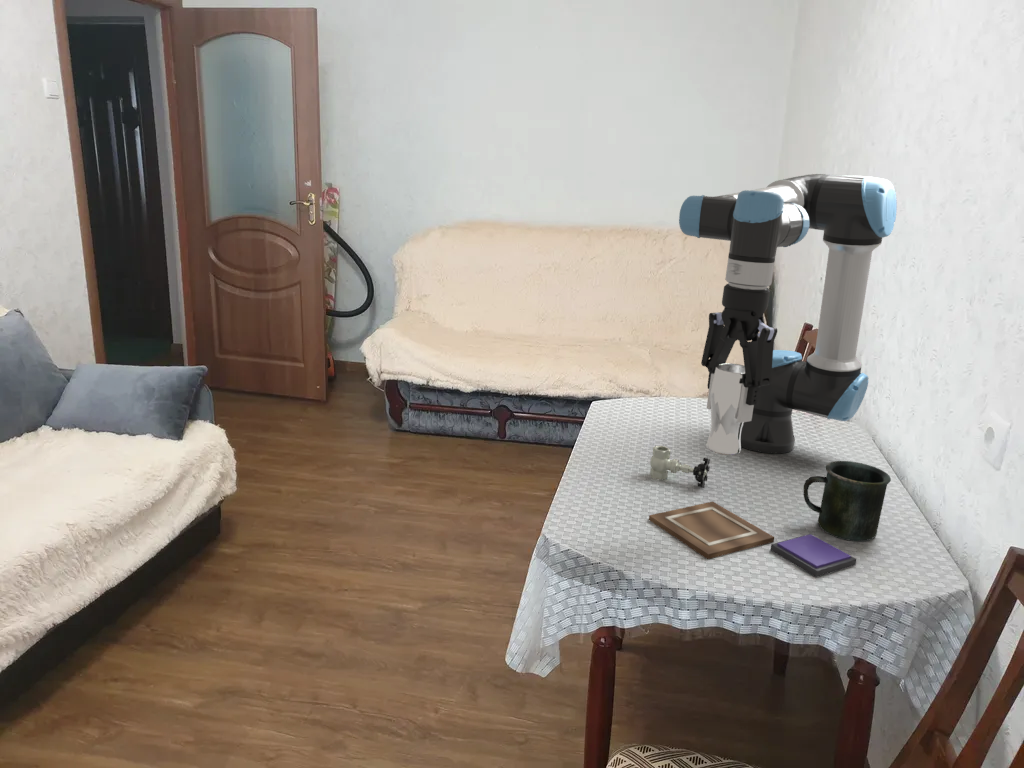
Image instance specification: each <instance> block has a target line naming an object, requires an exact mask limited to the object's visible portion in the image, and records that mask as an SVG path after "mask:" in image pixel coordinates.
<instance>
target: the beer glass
mask: <svg viewBox="0 0 1024 768" xmlns="http://www.w3.org/2000/svg"><path fill="white" fill-rule="evenodd" d="M753 379H754V378H753ZM743 384H746V375H745V367H744V365H743V364H738V363H731V362H729V363H728V362H726V363H722V364H717V365H716V368H715V372H714V377H713V381H712V387H711V401H710V404H711V409H710V423H711V424H710V432H709V436H708V438H707V441H706V444H705V447H706V449H707V450H709V451H711V452H713V453H714V454H720V455H724V456H726V455H727V456H733V455H738V454H740V453H741V452H742V447H741V431H742V427H743V424H744V422H742V423H739V422H737V417H738V410H739V404H740V397H741V390H742V385H743Z"/></svg>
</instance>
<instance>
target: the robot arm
mask: <svg viewBox="0 0 1024 768" xmlns="http://www.w3.org/2000/svg"><path fill="white" fill-rule="evenodd" d="M897 203H898V202H897V194H896V190H895V187H894V185H893V183H892V182H891V181H890V180H888V179H886V178H882V177H881V178H880V177H874V176H871V175H870V176H865V175H864V176H863V175H843V174H838V175H837V174H826V173H814V174H813V173H812V174H805V175H798V176H792V177H788V178H785V179H784V178H783V179H778V180H774V181H773V182H770V183H769V184H768V185H767V186H766V187H762V188H756V189H751V190H747V189H745V190H742V191H740V192H733V193H729V194H722V195H716V196H707V195H704V194H702V195H689V196H688V197H686V198H685V200H684V201H683V202H682V205H681V207H680V209H679V210H680V211H679V216H678V217H679V218H678V225H679V228H680V231H681V232H682V233H683V234H684V235H685V236H690V237H695V238H697V239H700V238H702V239H711V240H712V239H713V240H721V241H729V242H730V243H729V252H728V255H727V256H728V258H727V264H726V265H727V266H726V273H725V278H724V279H725V281H726V282H727V283H726V284H725V285H724V286H723V292H722V298H721V305H722V306H723V308H724V309H723V310H722V312H721V311H720V312H718V311H717V312H710V313H709V314H708V329H707V334H706V338H705V344H704V348H703V353H702V357H701V366H702V367H705V368H706V369H707V370H708V379H707V385H706V386H707V389H708V394H707V402H706V409H708V410H709V411H711V404H710V401H711V387H712V381H713V377H714V372H715V368H716V365H717V364H722V363H727V360H728V358H729V356H730V354H731V352H732V350H733V348H734V345H735V343H736V342H737V341H738V342H739V346H740V347H741V348H742V349H741V350H742V357H743V364H744V367H745V375H746V384H743V385H742V390H741V397H740V404H739V410H738V417H737V422H739V423H742V422H744V424H743V427H742V431H741V448H744V449H746V450H750V451H754V452H757V453H764V454H786V453H789V452H792V451H793V450H794V448H795V443H796V437H795V434H794V428H793V421H792V420H793V419H792V414H793V410H794V411H799V412H803V413H806V414H808V415H809V414H810V415H814V416H816V417H817V416H818V417H821V418H825V419H827V420H835V421H840V422H847V421H850V420H851V419H853V417H854V416H855V415H856V414H857V412H858V411H859V408H860V406H861V404H862V402H863V401H864V398H865V395H866V394H867V393H866V392H867V390H868V386H869V376H868V374H866V373H864V372H861V371H862V366H863V364H862V362H861V361H860V359H859V358H858V357H857V350H858V344H859V337H860V332H861V331H860V330H861V326H862V325H861V323H862V318H863V312H864V306H865V299H866V293H867V286H868V280H869V275H870V267H871V262H872V261H871V260H872V254H873V251H874V250H876V249H877V248H878V247H879V246H881V244H882V241H883V239H884V238H885V237H888V236H889V237H890V235H891V234H892V232H893V230H894V227H895V222H896V218H897V210H898V209H897V208H898V206H897ZM809 229H810V230H811V229H812V230H818V231H823V234H822V235H823V236H822V242H823V243H824V244H825V245H826V246H827V247H828V254H827V263H826V269H825V277H824V284H823V290H822V291H823V293H822V298H821V305H820V313H819V321H818V328H817V334H816V342H815V350H814V352H813V353H811V354H810V355H808V356H807V357H806V361H804V360H803V356H802V353H800V352H797V351H795V350H788V349H787V350H784V349H774V343H775V339H776V337H777V334H778V328H777V327H773V326H772V327H770V326H769V325H767V324H765V318H764V314H765V312H766V311H767V309H768V306H769V301H770V293H771V290H770V288H768V287H770V286H771V285H772V283H773V275H774V269H775V262H776V255H777V250H778V249H777V248H782V247H783V248H787V247H791V246H792V245H795V244H798V243H799V242H801V241H802V240H803V239H804V238H805V237H806V235H807V234H808V232H809ZM753 378H754V379H753Z"/></svg>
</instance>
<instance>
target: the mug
mask: <svg viewBox="0 0 1024 768" xmlns="http://www.w3.org/2000/svg"><path fill="white" fill-rule="evenodd" d="M825 471H826V475H825V476H822V475H814V476H809V477H808V478H807V479H805V482H804V484H803V493H802V494H803V499H804V502H805V503H806V506H807V507H808V508H809V509H811V510H812V511H814V512H816V513H817V514H818V520H817V523H818V525H819V527H820V528H821V530H823V531H824V532H826V533H827V534H829V535H831V536H834V537H836V538H840V539H842V540H847V541H852V542H866V541H870V540H872V539H874V538H875V537H876V536H877V533H878V529H879V525H880V519H881V516H882V510H883V507H884V506H883V505H884V500H885V498H886V497H885V496H886V492H887V487H888V485H889V484H890V482H891V480H892V478H891V476H890V474H888V473H887V472H886V471H884V470H882V469H881V468H878V467H875V466H873V465H869V464H867V463H862V462H857V461H851V460H850V461H848V460H838V461H837V460H835V461H831V462H828V463H826V465H825ZM813 483H814V484H815V483H823V484H824V488H823V494H822V498H821V503H820V506H818V505H816V504H814V503H813V502H812V501H811V499H810V497H809V488H810V485H812V484H813Z"/></svg>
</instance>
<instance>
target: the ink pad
mask: <svg viewBox="0 0 1024 768" xmlns="http://www.w3.org/2000/svg"><path fill="white" fill-rule="evenodd" d="M769 551H771V552H773V553H774V554H776V555H777V556H779V557H781V558H782V559H784V560H786V561H788V562H790V563H792V564H793V565H795V566H796V567H798V568H799V569H801V570H803V571H804V572H806V573H808V574H809V575H811V576H813V577H815V578H818V577H822V576H826V575H829V574H831V573H834V572H838V571H842V570H844V569H848V568H851V567H854V566H856V565H857V560H858V559H857V558H856V557H853V556H852V555H850V554H848V553H846V552H845V551H843V550H842V549H839V548H838V547H835V546H833V545H832V544H830V543H828V542H826V541H824V540H822V539H821V538H819V537H817V536H815V535H813V534H812V533H808V534H805V535H801V536H797V537H793V538H789V539H786V540H782V541H777V542H773V543H770V550H769Z"/></svg>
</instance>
